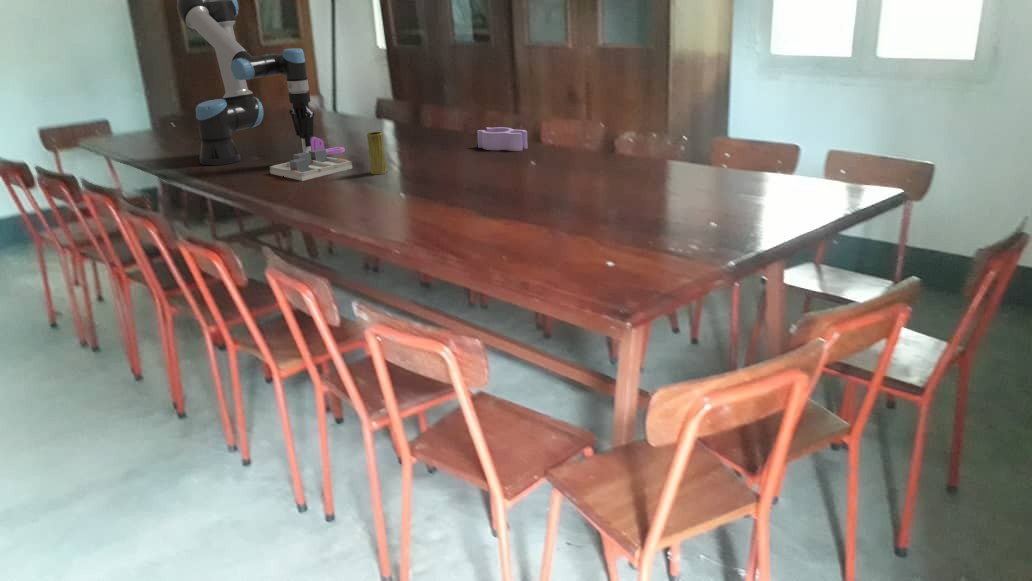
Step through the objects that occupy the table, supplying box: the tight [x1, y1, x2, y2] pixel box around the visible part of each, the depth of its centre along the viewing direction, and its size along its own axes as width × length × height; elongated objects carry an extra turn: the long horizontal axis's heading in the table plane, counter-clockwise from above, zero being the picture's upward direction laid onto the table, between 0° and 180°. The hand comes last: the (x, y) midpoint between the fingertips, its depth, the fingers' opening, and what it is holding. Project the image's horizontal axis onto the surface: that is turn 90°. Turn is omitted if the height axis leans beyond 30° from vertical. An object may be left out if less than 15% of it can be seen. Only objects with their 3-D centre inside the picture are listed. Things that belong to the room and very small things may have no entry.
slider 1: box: [292, 151, 312, 165], centre depth 297 cm, size 4×5×4 cm
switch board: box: [269, 156, 353, 182], centre depth 295 cm, size 20×22×3 cm
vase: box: [366, 131, 388, 175], centre depth 286 cm, size 6×6×14 cm
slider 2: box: [288, 158, 309, 172], centre depth 287 cm, size 4×5×4 cm
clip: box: [477, 126, 528, 152], centre depth 320 cm, size 20×12×7 cm, turn 58°
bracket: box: [310, 136, 346, 156], centre depth 323 cm, size 13×6×7 cm, turn 125°
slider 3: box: [309, 149, 328, 162], centre depth 302 cm, size 4×5×4 cm
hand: (307, 154), depth 306 cm, fingers closed
